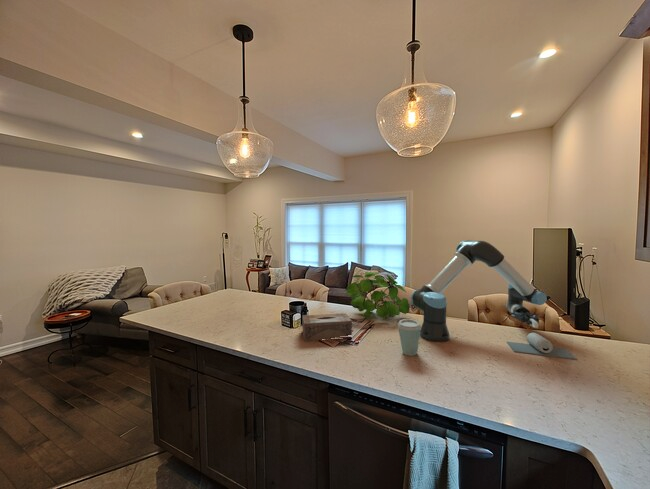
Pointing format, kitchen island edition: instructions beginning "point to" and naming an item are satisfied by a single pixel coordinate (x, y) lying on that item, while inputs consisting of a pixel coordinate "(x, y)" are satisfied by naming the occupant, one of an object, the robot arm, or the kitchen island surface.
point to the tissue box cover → (325, 326)
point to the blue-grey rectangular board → (532, 350)
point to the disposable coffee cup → (409, 336)
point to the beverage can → (539, 342)
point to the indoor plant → (377, 296)
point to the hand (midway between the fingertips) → (536, 325)
